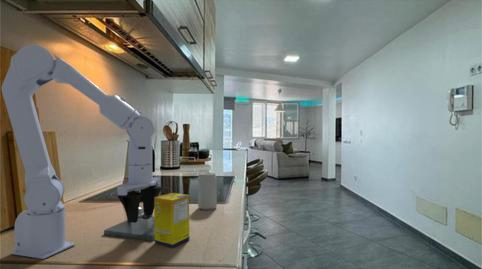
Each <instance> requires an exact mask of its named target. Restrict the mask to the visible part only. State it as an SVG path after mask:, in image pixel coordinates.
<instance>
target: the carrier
mask: <svg viewBox="0 0 482 269" xmlns="http://www.w3.org/2000/svg"><path fill="white" fill-rule="evenodd" d="M142 214H144V210H143V205H140V204H139V211H138V215H142ZM152 217H153V231H151V232H149V233H147V234H141V235H136V234H132V233H131V222H128V219H127V218H126V220H124V221H122V222H120V223H117V224H115V225H113V226H110V227H108V228H105V229H104V230H103V235H104V236H111V237H117V238H118V237H119V238H128V239H136V240H144V241H145V240H146V241H154V242H155V216H154V215H152ZM140 219H143V218H140Z"/></svg>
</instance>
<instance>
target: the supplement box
mask: <svg viewBox="0 0 482 269" xmlns="http://www.w3.org/2000/svg"><path fill="white" fill-rule="evenodd" d="M153 214H154V215H153V216H154V217H155V240H154V243H155V245H156V244H157V245H161V246H163V247H167V248H168V247H169V248H171V249H173V248H175V247H178V246H179V245H181V244H183V243H185V242H187V241H190V195H189V194H185V193H184V194H183V193H176V192H171V193H166V194H162V195H158V197H154V211H153Z"/></svg>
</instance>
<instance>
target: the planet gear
mask: <svg viewBox="0 0 482 269" xmlns="http://www.w3.org/2000/svg"><path fill="white" fill-rule="evenodd" d="M153 217H154V216H153ZM153 217H152V215H148V214H142V215H138V220H137V222H136V223H132V222H131V233H132V234H136V235H141V234H147V233H149V232H151V231H153ZM140 218H143V219H140Z"/></svg>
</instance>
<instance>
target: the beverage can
mask: <svg viewBox="0 0 482 269" xmlns="http://www.w3.org/2000/svg"><path fill="white" fill-rule="evenodd" d="M217 178H218V177H217V175H216V172H207V171H206V172H199V174H198V177H197V206H198V208H199V209H200V210H202V211H203V210H204V211H209V210H210V211H211V210H214V209H215V208H216V207H217V206H218V202H217V201H218V195H217V193H218V190H217V189H218V188H217V184H218V181H217Z"/></svg>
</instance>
